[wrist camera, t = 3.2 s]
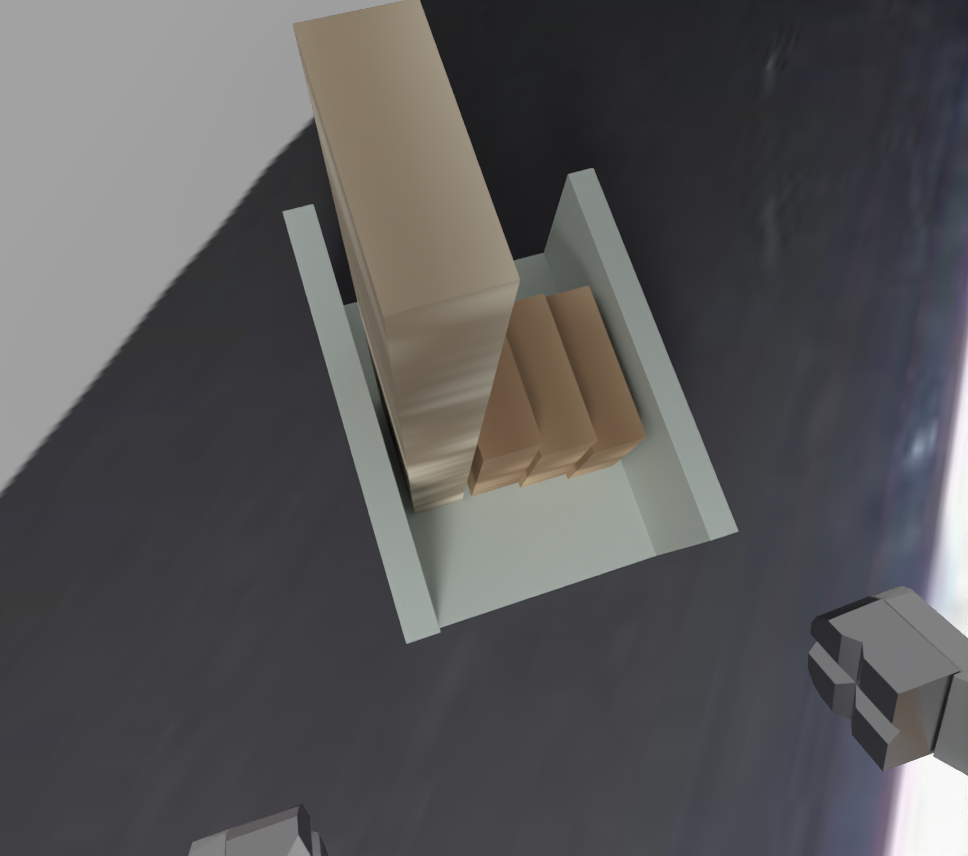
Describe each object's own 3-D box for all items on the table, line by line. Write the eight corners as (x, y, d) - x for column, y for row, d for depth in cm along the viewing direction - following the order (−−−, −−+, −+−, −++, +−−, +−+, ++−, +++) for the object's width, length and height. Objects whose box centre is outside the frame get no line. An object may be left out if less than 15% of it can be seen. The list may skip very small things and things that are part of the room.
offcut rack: (559, 262, 34) (605, 132, 25) (667, 551, 31) (765, 523, 22) (317, 327, 33) (273, 214, 24) (406, 638, 30) (395, 647, 20)
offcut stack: (565, 335, 32) (601, 259, 25) (612, 465, 31) (664, 422, 24) (432, 373, 31) (432, 304, 24) (475, 508, 30) (488, 476, 23)
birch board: (426, 386, 31) (418, -3, 12) (462, 499, 30) (520, 279, 10) (380, 399, 31) (292, 23, 11) (414, 514, 29) (383, 316, 10)
